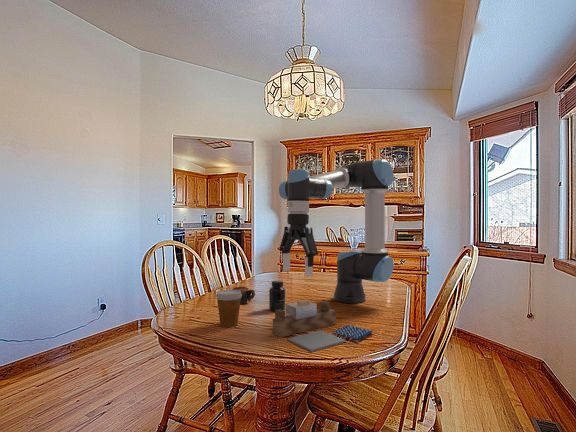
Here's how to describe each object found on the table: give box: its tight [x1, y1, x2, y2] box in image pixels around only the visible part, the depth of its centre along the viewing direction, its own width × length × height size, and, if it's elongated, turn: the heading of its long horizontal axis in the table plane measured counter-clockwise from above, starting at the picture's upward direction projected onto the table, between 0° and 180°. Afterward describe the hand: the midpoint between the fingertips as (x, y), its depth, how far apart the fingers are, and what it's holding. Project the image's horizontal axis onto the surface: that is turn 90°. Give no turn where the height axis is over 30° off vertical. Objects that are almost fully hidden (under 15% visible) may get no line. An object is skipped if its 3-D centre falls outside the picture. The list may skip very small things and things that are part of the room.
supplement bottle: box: [268, 280, 286, 312], centre depth 153 cm, size 7×7×12 cm
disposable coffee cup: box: [215, 288, 242, 328], centre depth 132 cm, size 10×10×12 cm
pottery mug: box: [232, 286, 256, 305], centre depth 166 cm, size 12×10×8 cm
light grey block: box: [285, 299, 318, 320], centre depth 126 cm, size 9×6×5 cm, turn 126°
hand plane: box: [272, 300, 337, 338], centre depth 127 cm, size 25×4×8 cm, turn 126°
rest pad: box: [287, 329, 347, 353], centre depth 114 cm, size 14×12×1 cm
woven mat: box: [331, 324, 374, 343], centre depth 120 cm, size 10×11×2 cm
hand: (297, 273), depth 127 cm, fingers open, 13 cm apart
